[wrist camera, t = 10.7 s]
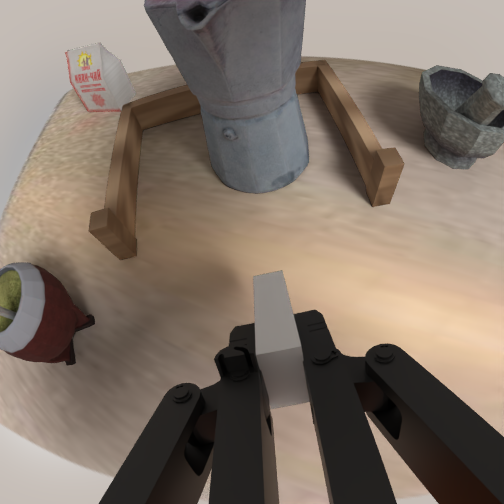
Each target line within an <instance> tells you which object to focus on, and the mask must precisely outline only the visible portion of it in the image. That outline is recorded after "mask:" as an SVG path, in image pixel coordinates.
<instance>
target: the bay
mask: <svg viewBox="0 0 504 504" xmlns="http://www.w3.org/2000/svg"><path fill="white" fill-rule="evenodd" d="M295 80H296V85H295V90H296V94H303V93H311V92H319V94H320V96H321V97H322V99H323V101H324V103H325V105H326V106H327V108H328V110H329V112H330V114H331V116H332V117H333V119H334V121H335V123H336V125H337V127H338V129H339V131H340V133H341V135H342V137H343V139H344V141H345V143H346V145H347V147H348V149H349V151H350V153H351V155H352V157H353V159H354V161H355V163H356V166H357V168H358V170H359V172H360V174H361V176H362V179H363V181H364V183H365V185H366V193H367V195H368V198H369V200H370V202H371V205H372V207H374V206H380V205H385V204H390V201H391V199H392V196H393V194H394V191H395V188H396V186H397V183H398V180H399V178H400V175H401V172H402V169H403V167H404V162H403V160H402V158H401V157H400V155H399V153H398V151H397V150H396V148H387V149H382V148H381V146H380V144H379V142H378V140H377V139H376V137H375V135H374V134H373V132H372V130H371V128H370V127H369V125H368V123H367V122H366V120H365V118H364V117H363V115H362V114H361V112H360V110H359V109H358V107H357V106H356V104H355V103H354V101H353V99H352V98H351V96H350V95H349V93H348V92H347V90H346V89H345V87H344V86H343V84H342V83H341V81H340V80H339V79H338V77H337V76H336V74H335V73H334V71H333V70H332V69H331V67H330V66H329V64H328V63H327V62H326V60H319V61H309V62H301V63H300V66H299V68H298V69H297V71H296V73H295ZM197 114H201V105H200V103H199V101H198V98H197V96H196V95H193V93H192V92H191V91H190V89H189V87H188V85H184V86H180V87H177V88H173V89H170V90H167V91H163V92H160V93H157V94H154V95H150V96H147V97H144V98H141V99H138V100H135V101H133V102H130V103H127V104H124V105H123V106H122V110H121V114H120V119H119V123H118V128H117V133H116V138H115V143H114V148H113V153H112V159H111V165H110V171H109V177H108V184H107V191H106V198H105V206H104V209H102V210H99V211H96V212H92V213H91V216H90V224H89V232H90V233H91V234H92V235H93V236H94V237H95V238H97V239H98V240H99V241H100V242H101V243H102V244H103V245H104V246H105V247H106V248H107V249H108V250H110V251H111V252H112V253H113V254H114V255H115V256H116V257H117V258H119V259H120V260H122V259H126V258H130V257H135V256H136V251H137V239H136V238H135V217H136V198H137V184H138V171H139V160H140V150H141V141H142V132H143V130H145V129H148V128H151V127H154V126H157V125H161V124H164V123H168V122H171V121H175V120H178V119H182V118H185V117H189V116H193V115H197Z"/></svg>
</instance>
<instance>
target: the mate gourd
mask: <svg viewBox="0 0 504 504" xmlns="http://www.w3.org/2000/svg"><path fill="white" fill-rule="evenodd" d="M94 324H95V320H94V317H93V316H92V315H87V316H85V315H84V313H83V312H82V311H81V310H80V309H79V308H78V307H76V306H75V305H74V303H73V302H72V300H71V298H70V296H69V294H68V293H67V291H66V289H65V287H64V286H63V285H62V283H61V282H60V281H59V280H58V279H57V278H56V277H54V276H53V275H52V274H50V273H49V272H48V271H46V270H45V269H43V268H41V267H39V266H37V265H33V264H31V263H11V264H8V265H6V266H4V267H3V268H1V269H0V349H1V350H4V351H5V352H6V353H8V354H9V355H12V356H14V357H17V358H20V359H23V360H26V361H31V362H46V363H58V362H63V361H66V365H73V364H75V363H76V362H75V354H74V348H73V341H72V337H73V335H74V332H76V331H79V330H82V329H84V328H87V327H90V326H92V325H94Z"/></svg>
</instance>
